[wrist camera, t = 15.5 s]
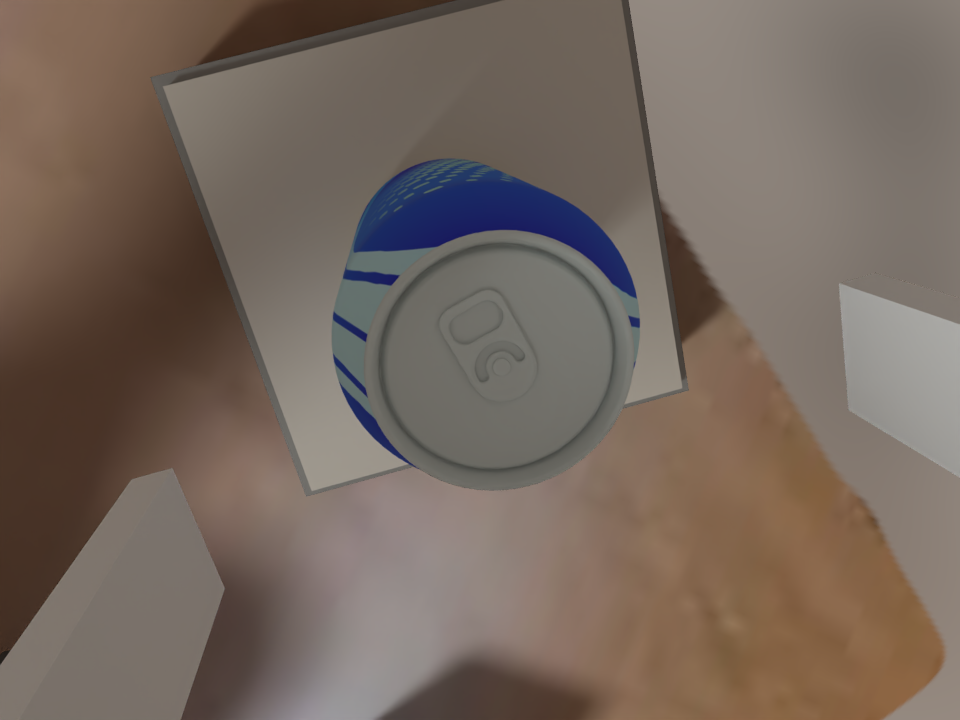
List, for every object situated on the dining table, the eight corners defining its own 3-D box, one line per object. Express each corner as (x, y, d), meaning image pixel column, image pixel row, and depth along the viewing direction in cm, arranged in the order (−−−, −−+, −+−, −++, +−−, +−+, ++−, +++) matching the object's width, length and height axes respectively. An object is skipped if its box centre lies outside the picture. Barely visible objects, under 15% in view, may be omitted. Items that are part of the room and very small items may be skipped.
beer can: (558, 176, 32) (713, 225, 17) (520, 355, 34) (625, 538, 19) (368, 139, 30) (349, 156, 15) (342, 329, 33) (303, 505, 18)
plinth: (314, 457, 40) (304, 502, 35) (179, 83, 33) (145, 76, 29) (657, 363, 41) (693, 394, 36) (593, -22, 34) (626, -45, 29)
